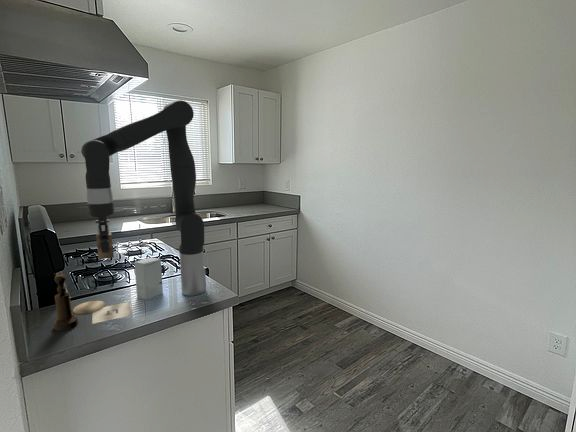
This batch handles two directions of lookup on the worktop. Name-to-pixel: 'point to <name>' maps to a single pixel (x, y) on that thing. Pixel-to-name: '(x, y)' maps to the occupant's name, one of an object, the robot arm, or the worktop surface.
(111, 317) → the tile
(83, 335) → the worktop surface
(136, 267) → the skincare box
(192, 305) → the worktop surface
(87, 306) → the cork coaster
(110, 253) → the walnut block
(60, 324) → the brown tall tapered piece
